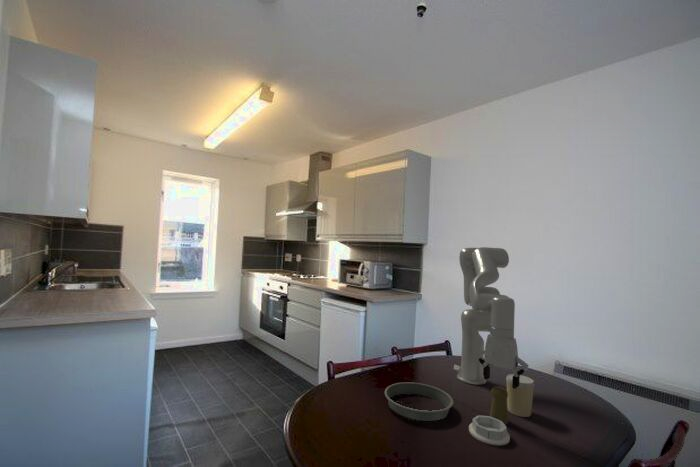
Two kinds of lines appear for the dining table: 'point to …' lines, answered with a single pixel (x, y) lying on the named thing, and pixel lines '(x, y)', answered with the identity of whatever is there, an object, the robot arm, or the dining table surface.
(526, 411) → the cream upright cylinder
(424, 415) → the cake pan
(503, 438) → the ring holder
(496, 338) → the robot arm
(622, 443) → the dining table surface
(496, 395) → the olive tapered block
